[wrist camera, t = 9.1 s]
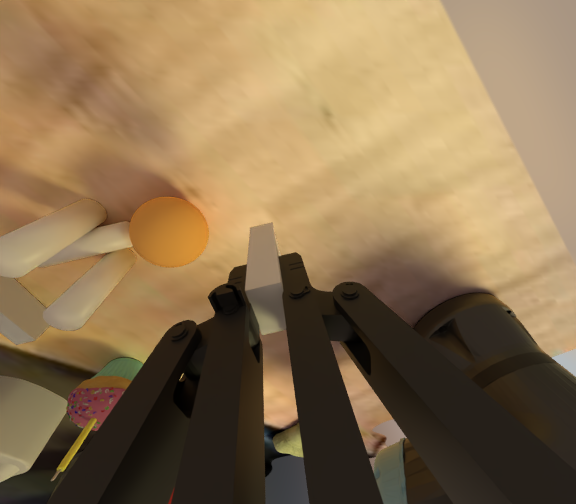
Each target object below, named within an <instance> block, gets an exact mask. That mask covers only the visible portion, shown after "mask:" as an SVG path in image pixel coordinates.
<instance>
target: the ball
mask: <svg viewBox="0 0 576 504" xmlns="http://www.w3.org/2000/svg"><path fill="white" fill-rule="evenodd" d="M129 237H130V240H131V243H132V245H133V247H134V249H135V250H136V251H137V253H138V254H139V255H140V256H141V257H142V258H144V259H145V260H147V261H148V262H150V263H152V264H155V265H158V266H162V267H180V266H183V265H186V264H189V263H190V262H192V261H194V260H195V259H196V258H198V257H199V256H200V255H201V253H202V252H203V251H204V249H205V247H206V245H207V242H208V237H209V230H208V225H207V222H206V220H205V218H204V216H203V214H202V213H201V212H200V210H199V209H198V208H196V207H195V206H194V205H193V204H191V203H189V202H188V201H186V200H183V199H180V198H176V197H158V198H154V199H151V200H149V201H147V202H145V203H144V204H143V205H141V206H140V207H139V208H138V209H137V210H136V211H135V213H134V214H133V216H132V218H131V221H130V225H129Z"/></svg>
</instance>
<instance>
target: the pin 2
mask: <svg viewBox="0 0 576 504" xmlns="http://www.w3.org/2000/svg"><path fill="white" fill-rule="evenodd" d="M135 262H136V256H135V254H134V253H133V252H132V251H131V250H130V249H128V248H125V249H121V250H116V251H112V252H108V253H107V254H106V255H105V256H104V257H103V258H102V259H101V260H99V261H98V262H97V263H96V264H95V265H94V266H93V267H92V268H91V269H90V270H88V271H87V272H86V273H85V274H84V275H83V276H82V277H81V278H80V279H79V280H77V281H76V282H75V283H74V284H73V285H72V286H71V287H70V288H69V289H68V290H66V291H65V292H64V293H63V294H62V295H61V296H60V297H59V298H58V299H57V300H55V301H54V302H53V303H52V304H51V305H50V306H49V307H48V308H47V309H46V310H44V312H43V318H44V320H45V321H46V322H47V323H48V324H49V325H51V326H52V327H54V328H57V329H60V330H66V331H73V330H77V329H79V328H81V327H82V326H83V325H84V324H85V322H86V321H87V320H88V319H89V318H90V316H91V315H92V314H93V313H94V312H95V310H96V309H97V308H98V307H99V306H100V304H101V303H102V302H103V301H104V300H105V298H106V297H107V296H108V295H109V294H110V292H111V291H112V290H113V289H114V288H115V286H116V285H117V284H118V283H119V282H120V280H121V279H122V278H123V277H124V276H125V274H126V273H127V272H128V271H129V270H130V268H131V267H132V266H133V265H134V264H135Z"/></svg>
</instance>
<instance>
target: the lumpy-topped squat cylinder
mask: <svg viewBox="0 0 576 504" xmlns="http://www.w3.org/2000/svg"><path fill="white" fill-rule="evenodd" d="M67 403H68V402H67V401H66V400H65V399H64V398H62V397H60V396H59V395H57V394H55V393H53V392H51V391H49V390H47V389H45V388H43V387H40V386H38V385H36V384H33V383H31V382H28V381H25V380H22V379H18V378H13V377H7V376H1V375H0V482H2V481H4V480H6V479H8V478H9V477H11V476H15V475H19V474H22V473H24V472H26V471H28V470H29V469H30V468H31V466H32V465H33V463H34V462H35V460H36V459H37V457H38V456H39V454H40V453H41V451H42V449H43V448H44V446H45V445H46V443H47V442H48V440H49V439H50V437H51V435H52V434H53V432H54V431H55V429H56V428H57V426H58V424H59V423H60V421H61V420H62V418H63V417H64V415H65V414H66V411H67V410H66V407H67Z"/></svg>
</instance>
